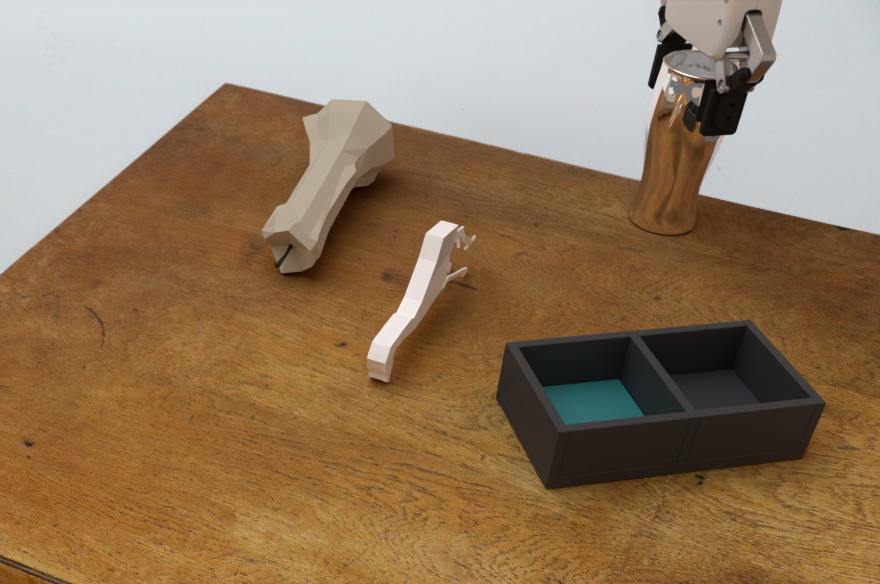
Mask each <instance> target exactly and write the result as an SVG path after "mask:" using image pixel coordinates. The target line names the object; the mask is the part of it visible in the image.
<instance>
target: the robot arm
mask: <svg viewBox="0 0 880 584" xmlns="http://www.w3.org/2000/svg"><path fill="white" fill-rule="evenodd" d="M782 4H783V0H660V6H659V9H658V11H657V15H658V20H659V28H658V29H657V30H656V35H655V38H656V42H657V45H656V49H655V53H654V58H653V61H652V64H651V69H650V73H649V78H648V81H647V86H648V87H649V88H650V89H651V90H654V86H655V83H656V80H657V77H658V74H659V72H660V69H661V66H662V62H663V58H664V56H665V55H666V54H668V53H670V52H673V51H677V50H693V48H695V49H696V50H699V51H700V52H702V53H703V54H704V55H706V56H707V57H708V58H710V59H712V60H714V65H715V75H716V85H717V88H715V89H710V93H709V96H708V100H707V103H706V107H705V110H704V114H703V117H702V121H701V124H700V128H699V133H700V134H701V135H702V136H722V135H725V136H733V135H735V134H736V133H737V131H738V127H739V124H740V121H741V117H742V114H743V112H744V108H745V105H746V101H747V98H748V95H749V93H753V92H754V91H755V89H756V86H757V85H759V84H760V83H762V82H763V81H764V79H765V75H766V74H767V73H768V71H770V69H771V68H772V66H773V65H774V64H775V62H776V61H777V51H776V49H775V47H774V44H773V38H774V35H775V32H776V28H777V24H778V20H779V17H780V13H781V9H782ZM730 48H731V49H734V48H735V49H736V48H737V49H738V51H737V50H736V51H727V49H730ZM736 62H737V63H738V64H739V70H737V71H736V72H734V73H733V74H732V75H730V71H729V63H736Z"/></svg>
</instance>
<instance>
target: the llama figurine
mask: <svg viewBox="0 0 880 584" xmlns="http://www.w3.org/2000/svg"><path fill="white" fill-rule="evenodd" d="M476 237H477V236H476V235H475V234H473V235H472V236H471V237H469V236H468V235H467V234H466V232H465V226H464V225H461V226H459V224H457V223H453V222H449V221H445V220H439V221H438V222H437V223H436V224H435V225H434V226H432V227H431V228H430V229H429V230H428V231H426V232H425V234H424V238H423V241H422V245H421V248H420V252H419V256H418V258H417V261H416V264H415V267H414V269H413V272H412V275H411V277H410V280H409V283H408V285H407V289H406V290H405V294H404V296H403V298H402V299H401V302H400V304H399V307H398V309H397V310H396V312H394V313H393V314H392V315H391V316H390V317H389V319H388V320H387V321H386V322H385V323H384V325H383V327H382V328H381V329H380V331H379V332H378V333H377V334H376V336H374V338H373V340H372V341H371V343H370V346H369V350H368V353H367V356H366V359H367V360H366V368H367V371H368V374H367V377H368V378H373V379H376V380H380V381H382V382H385V383H390V380H391V373H392V370H393V367H394V364H395V361H394V356H395V353H396V350H397V348H398V347H399V346H400V345H401V344H402V342H403V341H404V340H405V339H406V338H407V337H408V336H409V335H410V334H412V333H413V331H414V330H415V329H416V328H418V325H419V324H420V323H421V322H422V320H423V319H424V317H425V316H426V314H427V312H428V311H429V309H430V308H431V306H432V305H433V303H434V302H435V301H436V299H437V297H438V295H439V294H440V293H441V292H442V291H443V290H444V289H445V287H446V285H447V284H448V283H449V282H451V281H452V280H454V279H456V278H457V277H458V276H460V277H461V278H464V277H465V275H466V274H467V273H468V271H469V268H468V267H466V266H464V267H462V268H460V269H458V270H457V271H454V272H453V273H451V270H452V265H453V263H452V262H450V261H451V252H452V250H453V248H454V245H455V244H456V248H457V249H459V248H461V243H463V244H464V245H465V246H464V247H463V250H465V251H466V250H468V249H469V248H470V247H471V245H472V244H473V242H475V240H476Z"/></svg>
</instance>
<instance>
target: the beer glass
mask: <svg viewBox="0 0 880 584" xmlns="http://www.w3.org/2000/svg"><path fill="white" fill-rule="evenodd" d="M737 70H739V62H736V63H729V71H730V75H732V74H733V73H734V72H736V71H737ZM715 88H717V85H716V75H715V65H714V60H712V59H710V58H708V57H707V56H706V55H704V54H703V53H702V52H700V51H699V50H698V49H692V50H677V51H673V52H670V53H668V54H666V55H665V56H664V58H663V62H662V66H661V69H660V72H659V74H658V77H657V80H656V83H655V86H654V89H652V93H651V97H650V101H649V105H648V108H647V109H648V110H647V114H646V120H645V130H644V142H643V143H644V144H643V160H642V170H641V171H642V172H641V177H640V181H639V185H638V187H637V190H636V193H635V195H634V197H633V199H632V200H631V203H630V205H629V208H628V211H627V216H628V218H629V219H630V221H631V222H632V223H633V224H634V225H636V226H637V227H638V228H640V229H642V230H645V231H647V232H650V233H654V234H657V235H663V236H678V235H683V234H686V233H689V232H691V230H693V229H694V227H695V225H696V219H697V208H698V201H699V200H698V199H699V195H700V192H701V188H702V185H703V183H704V181H705V178H706V177H707V175H708V172H709V170H710V168H711V166H712V164H713V162H714V160H715V159H716V157H717V154H718V152H719V151H720V148H721V145H722V144H723V142H724V139H725V137H726V135H722V136H702V135H701V134H700V133H699V128H700V124H701V121H702V117H703V114H704V110H705V107H706V103H707V100H708V96H709V93H710V89H715Z"/></svg>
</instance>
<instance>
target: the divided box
mask: <svg viewBox="0 0 880 584" xmlns="http://www.w3.org/2000/svg"><path fill="white" fill-rule="evenodd" d="M495 399H496V401H497V403H498V404H499V407H500V408H501V410H502V412H503V413H504V415H505V417H506V420H507V421H508V422H509V424H510V426H511V428H512V430H513V432H514V433H515V435H516V438H517V439H518V441H519V442H520V445H521V447H522V449H523V451H524V452H525V454H526V455H527V457H528V459H529V461H530V463H531V464H532V467H533V468H534V470H535V472H536V474H537V476H538V477H539V479H540V482H541V483H542V485H543V487H544V489H545V490H549V489H557V488H559V489H560V488H567V487H576V486H583V485H590V484H591V485H592V484H600V483H608V482H615V481H623V480H624V481H625V480H632V479H641V478H649V477H656V476H666V475H674V474H681V473H682V474H684V473H691V472H700V471H707V470H715V469H716V470H717V469H724V468H732V467H741V466H742V467H743V466H749V465H757V464H765V463H767V464H768V463H774V462H775V463H776V462H782V461H783V462H784V461H790V460H791V461H792V460H799V459H803V458H804V456H805V454H806V451H807V450H808V449H807V448H808V447H809V444H810V442H811V440H812V438H813V435H814V433H815V431H816V428H817V426H818V424H819V421H820V419H821V416H822V414H823V413H824V410H825V407H826V404H827V402H826V400H825V399H824V398H823V397H822V396H821V395H820V394H819V393H818V392H817V391H816V390H815V389H814V387H813V386H812V385H811V384H810V383H809V382H808V381H807V379H805V378H804V376H803V375H802V374H801V373H800V372H799V370H797V369H796V368H795V366H793V364H792V363H791V362H790V361H789V360H788V359H787V358H786V357H785V356H784V355H783V353H782V352H781V351H779V349H778V348H777V347H776V346H775V345H774V344H773V343H772V341H771V340H770V339H769V338H768V337H767V336H766V335H765V334H764V333H763V331H762V330H761V329H760V328H759V327H758V326H757V325H756V324H755V323H754V322H753V320H751V319H742V320H732V321H722V322H712V323H700V324H691V325H690V324H689V325H679V326H669V327H668V326H667V327H657V328H649V329H638V330H637V329H636V330H625V331H622V330H621V331H614V332H601V333H593V334H592V333H591V334H590V333H589V334H582V335H580V334H579V335H570V336H560V337H549V338H538V339H537V338H536V339H528V340H527V339H526V340H519V341H518V340H516V341H506V342H505V346H504V351H503V355H502V361H501V365H500V371H499V377H498V383H497V389H496V393H495Z"/></svg>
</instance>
